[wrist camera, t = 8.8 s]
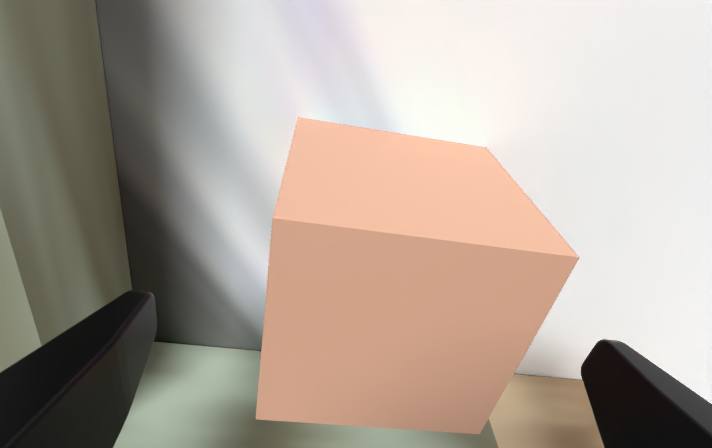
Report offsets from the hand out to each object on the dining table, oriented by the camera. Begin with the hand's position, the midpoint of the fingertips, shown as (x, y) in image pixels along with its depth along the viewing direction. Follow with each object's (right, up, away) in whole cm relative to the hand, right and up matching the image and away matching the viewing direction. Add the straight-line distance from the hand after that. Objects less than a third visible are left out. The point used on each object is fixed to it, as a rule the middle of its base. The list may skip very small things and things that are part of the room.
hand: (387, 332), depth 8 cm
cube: (0, +2, +4) cm, 5 cm away
